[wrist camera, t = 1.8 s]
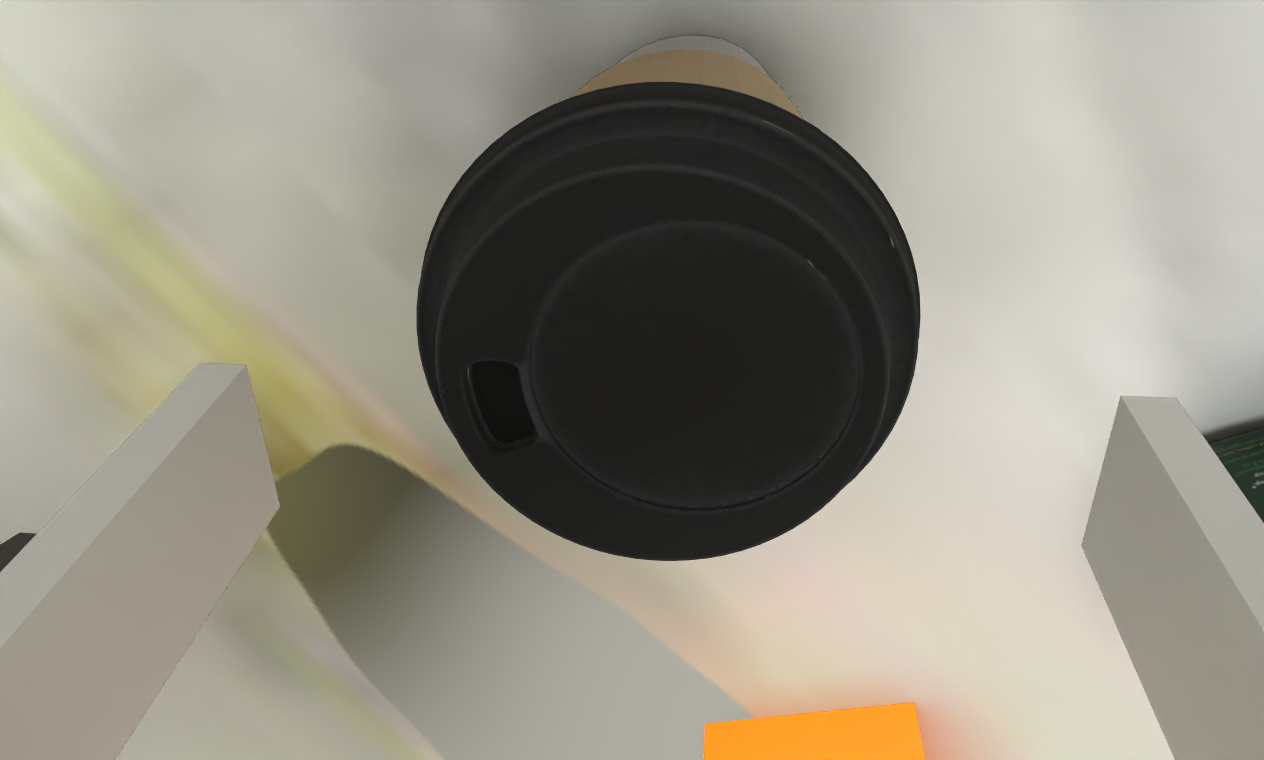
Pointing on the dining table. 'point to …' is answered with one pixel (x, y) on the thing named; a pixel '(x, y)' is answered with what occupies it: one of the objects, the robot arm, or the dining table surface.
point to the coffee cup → (669, 310)
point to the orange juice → (820, 736)
